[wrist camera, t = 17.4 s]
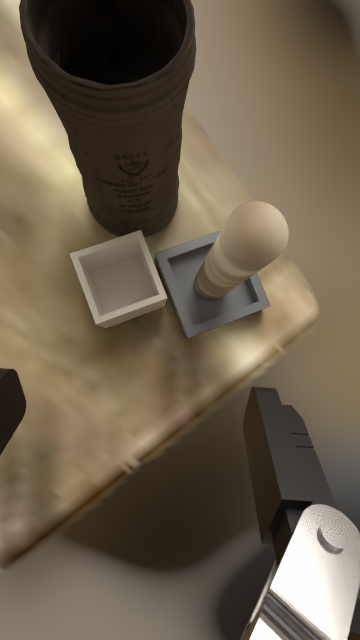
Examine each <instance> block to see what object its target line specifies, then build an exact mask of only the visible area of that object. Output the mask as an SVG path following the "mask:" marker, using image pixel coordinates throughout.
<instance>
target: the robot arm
mask: <svg viewBox="0 0 360 640" xmlns="http://www.w3.org/2000/svg"><path fill="white" fill-rule="evenodd" d="M25 411H26V399H25V396H24V393H23V390H22V386H21V383H20V380H19V377H18V374H17V372H16V371H15V370H14V369H3V368H0V455H1V453H2V452H3V450H4V448H5V447H6V445H7V443H8V442H9V440H10V439H11V437H12V435H13V434H14V432H15V430H16V429H17V427H18V425H19V424H20V422H21V420H22V419H23V417H24V414H25ZM243 433H244V440H245V446H246V452H247V458H248V464H249V470H250V476H251V482H252V488H253V494H254V500H255V506H256V512H257V518H258V525H259V531H260V537H261V543H262V544H273V545H274V549H275V555H276V562H275V564H274V566H273V569H272V571H271V573H270V575H269V577H268V580H267V582H266V584H265V586H264V589H263V591H262V593H261V595H260V598H259V600H258V602H257V604H256V606H255V609H254V611H253V613H252V615H251V618H250V620H249V622H248V624H247V626H246V629H245V631H244V633H243V635H242V637H241V639H240V640H347V638H348V634H349V630H351V631H353V632H355V633H357V634H359V635H360V531H359V530H357V528H356V527H355V525H354V524H353V523H352V522H351V521H350V520H349V519H348V518H347V517H346V516H345V515H344V514H343V513H341V512H340V511H339V509H338V507H337V506H336V503H335V501H334V499H333V496H332V494H331V491H330V489H329V486H328V483H327V481H326V478H325V475H324V473H323V470H322V468H321V465H320V463H319V460H318V457H317V455H316V452H315V450H314V449H313V444H312V442H311V439H310V437H309V436H308V435H309V434H308V431H307V429H306V426H305V423H304V421H303V419H302V417H301V416H300V415H299V414H298V413H297V411H296V410H295V409H294V408H293V407H292V406H291V405H282V404H281V401H280V398H279V395H278V392H277V390H276V389H275V388H263V387H252V388H251V391H250V395H249V399H248V403H247V407H246V411H245V415H244V421H243Z"/></svg>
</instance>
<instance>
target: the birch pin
mask: <svg viewBox="0 0 360 640" xmlns="http://www.w3.org/2000/svg"><path fill="white" fill-rule="evenodd" d="M288 237H289V233H288V226H287V223H286V221H285V219H284V217H283V215H282V214H281V213H280V212H279V211H278V210H277V209H276V208H275V207H273V206H272V205H270V204H267V203H264V202H259V201H251V202H246V203H244V204H241V205H240V206H238V207H237V208H236V209H234V211H233V212H232V213H231V214H230V216H229V217H228V219H227V221H226V223H225V225H224V226H223V228H222V230H221V232H220V233H219V235H218V237H217V239H216V241H215V242H214V244H213V246H212V248H211V249H210V251H209V253H208V255H207V257H206V258H205V260H204V262H203V264H202V265H201V267H200V269H199V271H198V272H197V274H196V276H195V279H194V288H195V291H196V293H197V294H198V295H199V296H200V297H201V298H203V299H205V300H208V301H215V300H218V299H220V298H221V297H223V296H224V295H226V294H227V293H228V292H230V291H231V290H233V289H234V288H236V287H237V286H238V285H240V284H241V283H243V282H244V281H245V280H247V279H248V278H250V277H251V276H252V275H254V274H255V273H257V272H258V271H260V270H261V269H262V268H264V267H265V266H267V265H268V264H269V263H271V262H272V261H274V260H275V259H276V258H278V257H279V256H280V255H281V254H282V253H283V251H284V250H285V248H286V245H287V243H288Z"/></svg>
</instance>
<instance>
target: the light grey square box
mask: <svg viewBox="0 0 360 640" xmlns="http://www.w3.org/2000/svg"><path fill="white" fill-rule="evenodd" d="M70 256H71V259H72V261H73V264H74V267H75V269H76V272H77V275H78V278H79V280H80V283H81V286H82V288H83V291H84V294H85V296H86V299H87V302H88V305H89V307H90V310H91V313H92V315H93V318H94V321H95V323H96V325H99V326H101V327H104V328H108V327H111V326H114V325H117V324H119V323H122V322H125V321H127V320H130V319H133V318H135V317H138V316H141V315H143V314H146V313H149V312H152V311H154V310H157V309H160V308H162V307H165V304H166V301H167V295H166V293H165V290H164V288H163V285H162V283H161V280H160V277H159V275H158V272H157V270H156V267H155V264H154V262H153V259H152V257H151V254H150V252H149V249H148V246H147V244H146V241H145V239H144V236H143V233H142V231H141V230H139V231H136V232H133V233H130V234H127V235H124V236H121V237H118V238H115V239H112V240H109V241H106V242H103V243H100V244H97V245H94V246H91V247H88V248H85V249H82V250H79V251H76V252H73V253H70Z"/></svg>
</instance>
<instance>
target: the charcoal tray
mask: <svg viewBox="0 0 360 640" xmlns="http://www.w3.org/2000/svg"><path fill="white" fill-rule="evenodd" d="M220 232H221V231H218V232H215V233H212V234H209V235H206V236H203V237H201V238H198V239H195V240H192V241H189V242H186V243H183V244H180V245H178V246H175V247H172V248H169V249H166V250H163V251H160V252H157V253H155V261H156V264H157V266H158V269H159V271H160V274H161V277H162V279H163V282H164V284H165V287H166V289H167V292H168V295H169V297H170V300H171V302H172V305H173V308H174V310H175V313H176V315H177V318H178V320H179V323H180V326H181V328H182V331H183V333H184V336H185V339H187V338H190V337H193V336H195V335H198V334H200V333H203V332H205V331H208V330H211V329H213V328H216V327H218V326H221V325H223V324H226V323H229V322H231V321H234V320H236V319H239V318H241V317H244V316H247V315H249V314H252V313H254V312H257V311H259V310H262V309H265V308H267V307H270V303H269V301H268V298H267V296H266V293H265V291H264V288H263V286H262V284H261V281H260V279H259V276H258V274H257V273H255V274H254V275H252V276H251V277H250V278H248V279H247V280H245V281H244V282H243V283H241V284H240V285H238V286H237V287H236V288H234V289H233V290H231V291H230V292H228V293H227V294H226V295H224V296H223V297H221V298H220V299H218V300H215V301H208V300H205V299H203V298H201V297H200V296H199V295H198V294H197V293H196V291H195V288H194V279H195V276H196V274H197V272H198V271H199V269H200V267H201V265H202V264H203V262H204V260H205V258H206V257H207V255H208V253H209V251H210V249H211V248H212V246H213V244H214V242H215V241H216V239H217V237H218V235H219V233H220Z"/></svg>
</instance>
